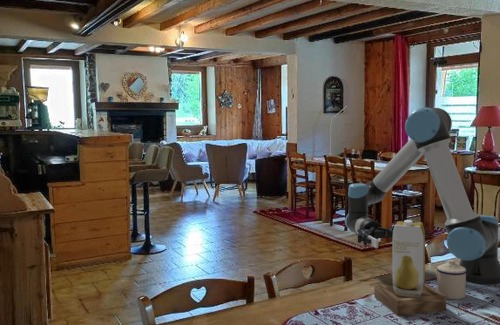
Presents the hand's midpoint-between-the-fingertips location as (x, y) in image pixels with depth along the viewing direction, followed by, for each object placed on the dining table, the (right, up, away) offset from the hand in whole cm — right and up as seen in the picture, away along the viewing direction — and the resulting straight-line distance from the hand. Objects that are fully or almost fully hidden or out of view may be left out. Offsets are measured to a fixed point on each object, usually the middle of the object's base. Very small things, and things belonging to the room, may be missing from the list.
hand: (396, 242), depth 164 cm
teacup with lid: (+18, -17, +1) cm, 25 cm away
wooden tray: (+2, -18, -7) cm, 20 cm away
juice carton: (+2, -15, -7) cm, 17 cm away
